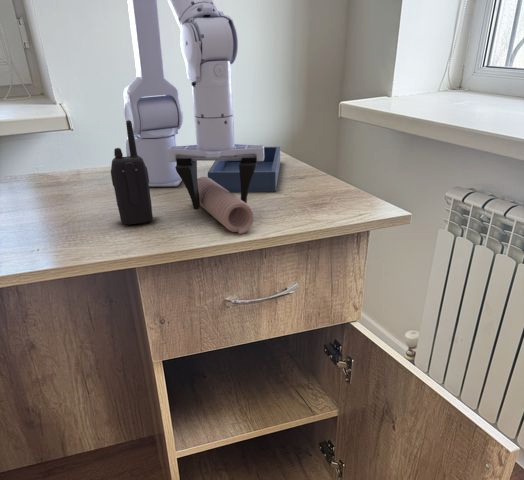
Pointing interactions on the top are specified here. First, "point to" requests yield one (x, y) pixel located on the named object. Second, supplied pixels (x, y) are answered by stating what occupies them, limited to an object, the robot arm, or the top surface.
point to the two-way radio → (131, 184)
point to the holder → (262, 176)
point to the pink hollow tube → (224, 206)
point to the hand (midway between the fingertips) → (220, 207)
